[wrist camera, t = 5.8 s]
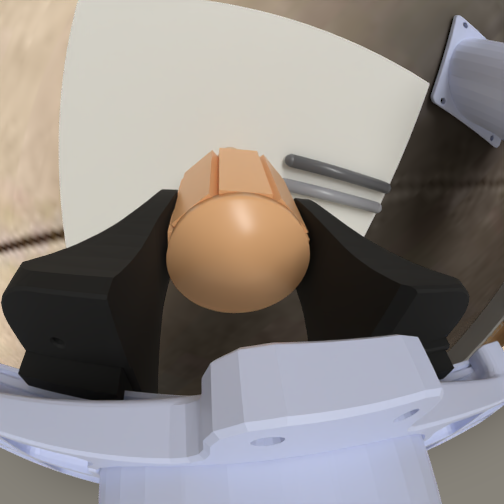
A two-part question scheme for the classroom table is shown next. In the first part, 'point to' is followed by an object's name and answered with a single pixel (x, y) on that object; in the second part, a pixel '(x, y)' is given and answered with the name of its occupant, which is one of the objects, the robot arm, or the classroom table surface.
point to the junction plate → (223, 107)
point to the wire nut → (236, 234)
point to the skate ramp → (482, 330)
